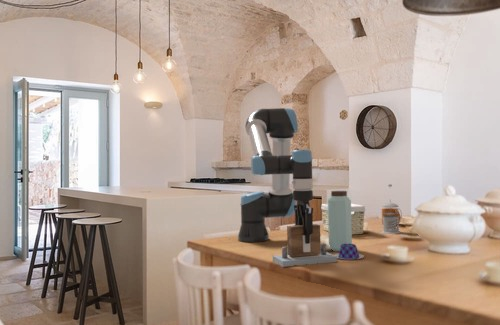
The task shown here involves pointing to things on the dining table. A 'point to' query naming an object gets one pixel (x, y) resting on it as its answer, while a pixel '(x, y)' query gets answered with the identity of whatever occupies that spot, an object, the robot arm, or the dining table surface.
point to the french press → (391, 220)
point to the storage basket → (356, 218)
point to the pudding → (348, 252)
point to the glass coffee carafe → (387, 210)
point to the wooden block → (297, 241)
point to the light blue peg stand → (304, 258)
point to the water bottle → (339, 220)
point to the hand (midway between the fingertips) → (304, 250)
